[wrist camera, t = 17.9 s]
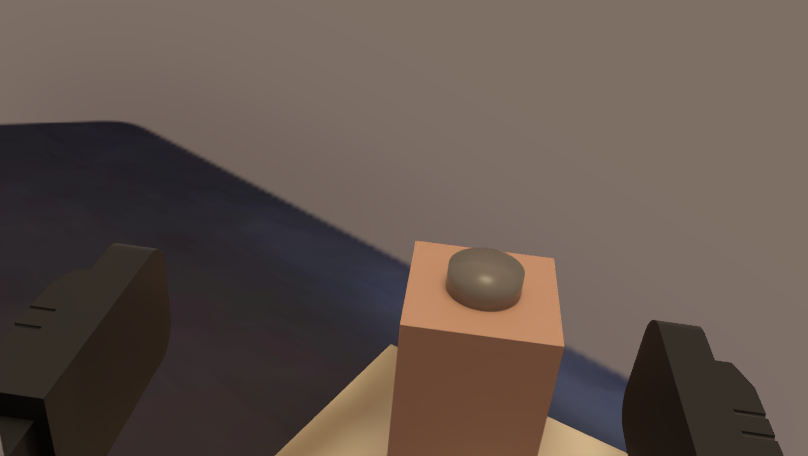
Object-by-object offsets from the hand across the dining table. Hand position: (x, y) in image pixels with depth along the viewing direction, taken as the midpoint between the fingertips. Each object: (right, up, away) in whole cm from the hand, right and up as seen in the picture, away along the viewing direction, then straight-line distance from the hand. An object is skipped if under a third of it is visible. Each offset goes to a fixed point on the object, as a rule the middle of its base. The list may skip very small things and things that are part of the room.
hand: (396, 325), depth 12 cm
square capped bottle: (+2, -9, +22) cm, 24 cm away
